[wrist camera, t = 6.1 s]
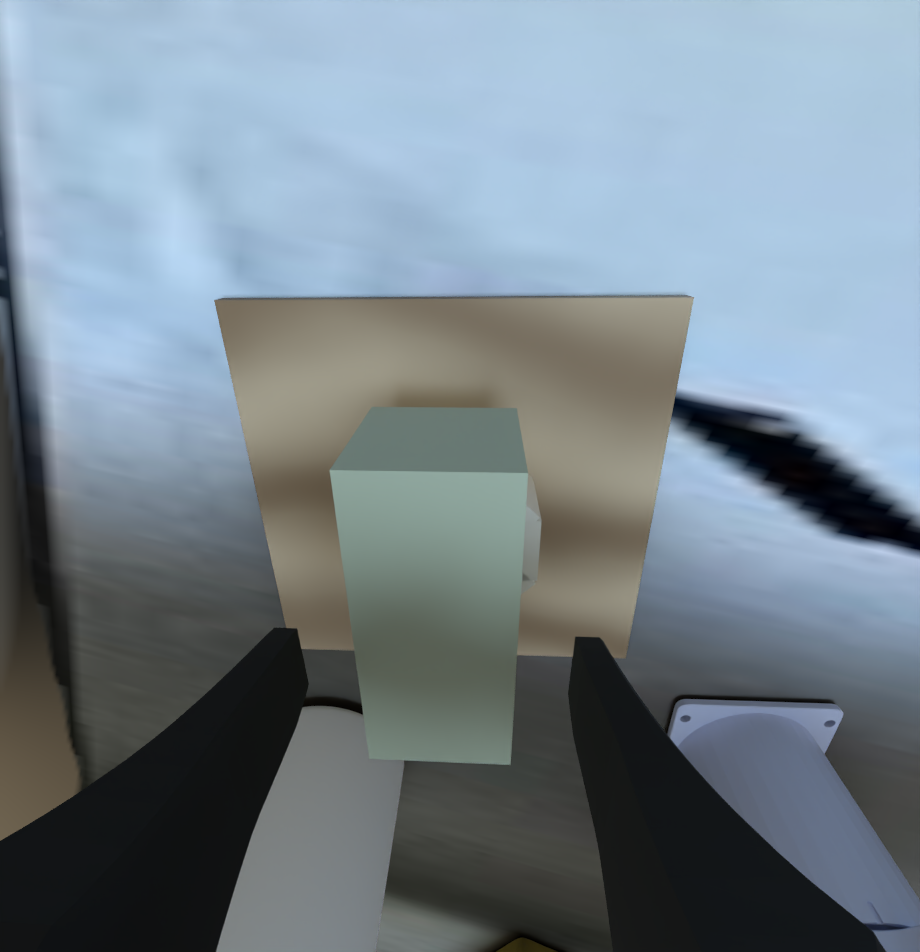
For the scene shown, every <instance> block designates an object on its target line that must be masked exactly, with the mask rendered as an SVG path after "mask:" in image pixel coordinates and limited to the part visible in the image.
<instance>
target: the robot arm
mask: <svg viewBox="0 0 920 952" xmlns="http://www.w3.org/2000/svg"><path fill="white" fill-rule="evenodd" d="M308 685H309V684H308V679H307V674H306V669H305V664H304V659H303V654H302V649H301V645H300V640H299V635H298V630H297V628H274V629H273V630H272V631H270V632H269V633H268V634H267V635H266V636H265V637H264V638H263V639H262V640H261V641H260V642H259V643H258V644H257V645H256V646H255V647H254V648H253V649H252V650H251V651H250V652H249V653H248V654H247V655H246V656H245V657H244V658H243V659H242V660H241V661H240V662H239V663H238V664H237V665H236V666H235V667H234V668H233V669H232V670H231V671H230V672H228V673H227V674H226V675H225V676H224V677H223V678H222V679H221V680H220V681H219V682H218V683H217V684H216V685H215V686H214V687H213V688H212V689H211V690H209V691H208V692H207V693H206V694H205V695H204V696H203V697H202V698H201V699H200V700H198V701H197V702H196V703H195V704H194V705H193V706H192V707H191V708H189V709H188V710H187V711H186V712H185V713H184V714H183V715H181V716H180V717H179V718H178V719H177V720H176V721H175V722H173V723H172V724H171V725H170V726H169V727H167V728H166V729H165V730H164V731H163V732H161V733H160V734H159V735H158V736H156V737H155V738H154V739H153V740H151V741H150V742H149V743H148V744H146V745H145V746H144V747H142V748H141V749H140V750H138V751H137V752H136V753H134V754H133V755H132V756H131V757H129V758H128V759H126V760H125V761H124V762H122V763H121V764H120V765H118V766H117V767H115V768H114V769H112V770H111V771H109V772H108V773H107V774H105V775H104V776H102V777H101V778H99V779H98V780H96V781H95V782H94V783H92V784H91V785H89V786H88V787H86V788H85V789H83V790H82V791H81V792H79V793H78V794H76V795H75V796H73V797H72V798H70V799H68V800H67V801H65V802H64V803H62V804H61V805H59V806H57V807H56V808H55V809H53V810H51V811H50V812H48V813H46V814H45V815H43V816H42V817H40V818H38V819H36V820H35V821H33V822H32V823H30V824H28V825H27V826H25V827H23V828H22V829H20V830H18V831H17V832H15V833H13V834H11V835H10V836H8V837H6V838H5V839H3V840H1V841H0V952H216V950H217V947H218V943H219V940H220V936H221V932H222V929H223V926H224V922H225V919H226V916H227V912H228V909H229V906H230V903H231V899H232V896H233V893H234V889H235V886H236V883H237V879H238V876H239V873H240V870H241V867H242V864H243V861H244V858H245V855H246V852H247V848H248V845H249V842H250V839H251V836H252V833H253V831H254V828H255V825H256V823H257V820H258V818H259V815H260V812H261V810H262V808H263V805H264V803H265V801H266V798H267V796H268V793H269V791H270V789H271V786H272V784H273V782H274V779H275V777H276V774H277V772H278V770H279V767H280V765H281V763H282V760H283V758H284V755H285V753H286V751H287V748H288V746H289V743H290V741H291V738H292V736H293V734H294V731H295V729H296V726H297V723H298V720H299V717H300V713H301V710H302V707H303V703H304V700H305V696H306V692H307V689H308ZM568 696H569V704H570V713H571V721H572V729H573V736H574V741H575V745H576V750H577V754H578V758H579V763H580V767H581V772H582V776H583V780H584V785H585V789H586V793H587V798H588V802H589V806H590V811H591V815H592V819H593V824H594V828H595V833H596V838H597V843H598V848H599V853H600V860H601V867H602V874H603V881H604V888H605V895H606V901H607V909H608V916H609V924H610V931H611V938H612V946H613V952H920V900H919V898H918V897H917V895H916V894H915V892H914V891H913V889H912V888H911V886H910V885H909V883H908V881H907V880H906V878H905V877H904V875H903V874H902V872H901V871H900V869H899V868H898V866H897V865H896V863H895V862H894V860H893V859H892V857H891V855H890V854H889V852H888V851H887V849H886V848H885V846H884V845H883V843H882V842H881V840H880V839H879V837H878V836H877V834H876V832H875V831H874V829H873V828H872V826H871V825H870V823H869V822H868V820H867V819H866V817H865V816H864V814H863V813H862V811H861V809H860V808H859V806H858V805H857V803H856V802H855V800H854V799H853V797H852V796H851V794H850V793H849V791H848V790H847V788H846V787H845V785H844V783H843V782H842V780H841V779H840V777H839V776H838V774H837V773H836V771H835V770H834V768H833V767H832V765H831V764H830V762H829V760H828V759H827V757H826V756H825V752H826V750H827V748H828V746H829V744H830V742H831V740H832V738H833V736H834V734H835V732H836V730H837V728H838V726H839V724H840V722H841V719H842V717H843V712H842V710H841V709H840V708H839V706H837V705H836V704H828V703H798V702H767V701H736V700H706V699H682V700H679V701H678V702H677V703H676V704H675V706H674V710H673V714H672V718H671V722H670V725H669V729H668V733H667V734H666V732H665V731H664V730H663V729H662V727H661V726H660V725H659V723H658V722H657V721H656V719H655V718H654V717H653V715H652V714H651V713H650V711H649V710H648V709H647V707H646V706H645V704H644V703H643V702H642V700H641V699H640V697H639V696H638V695H637V693H636V692H635V690H634V689H633V687H632V686H631V684H630V683H629V681H628V680H627V678H626V677H625V675H624V674H623V672H622V671H621V669H620V668H619V666H618V665H617V663H616V661H615V660H614V658H613V656H612V655H611V653H610V652H609V650H608V648H607V646H606V645H605V643H604V641H603V640H602V639H601V638H600V637H575V642H574V651H573V659H572V667H571V675H570V683H569V691H568Z"/></svg>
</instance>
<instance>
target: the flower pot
mask: <svg viewBox="0 0 920 952" xmlns="http://www.w3.org/2000/svg"><path fill="white" fill-rule="evenodd" d="M496 952H557V951H555V950H553V949H550V948H548V947H545V946H543V945H541V944H539V943H536V942H534V941H532V940H529V939H527V938H523V937H520V938H517V939H516V940H514V941H512V942H511V943H509V944H507V945H506V946H504V947H503V948H501V949H499V950H498V951H496Z"/></svg>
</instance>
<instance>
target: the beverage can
mask: <svg viewBox="0 0 920 952" xmlns="http://www.w3.org/2000/svg"><path fill="white" fill-rule="evenodd" d="M403 770H404V760H385V759H369V753H368V746H367V739H366V731H365V724H364V717H363V715H362V714H360V713H357V712H354V711H351V710H348V709H343V708H339V707H332V706H308V707H302V710H301V713H300V717H299V720H298V723H297V726H296V729H295V731H294V734H293V736H292V738H291V741H290V743H289V746H288V748H287V751H286V753H285V755H284V758H283V760H282V763H281V765H280V767H279V770H278V772H277V774H276V777H275V779H274V782H273V784H272V786H271V789H270V791H269V793H268V796H267V798H266V801H265V803H264V805H263V808H262V810H261V812H260V815H259V818H258V820H257V823H256V825H255V828H254V831H253V833H252V836H251V839H250V842H249V845H248V848H247V852H246V855H245V858H244V861H243V864H242V867H241V870H240V873H239V876H238V879H237V883H236V886H235V889H234V893H233V896H232V899H231V903H230V906H229V909H228V912H227V916H226V919H225V922H224V926H223V929H222V932H221V936H220V940H219V943H218V947H217V950H216V952H376V945H377V939H378V932H379V926H380V919H381V913H382V906H383V900H384V893H385V887H386V880H387V874H388V867H389V861H390V854H391V848H392V841H393V835H394V829H395V822H396V816H397V809H398V803H399V796H400V790H401V783H402V777H403Z"/></svg>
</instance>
